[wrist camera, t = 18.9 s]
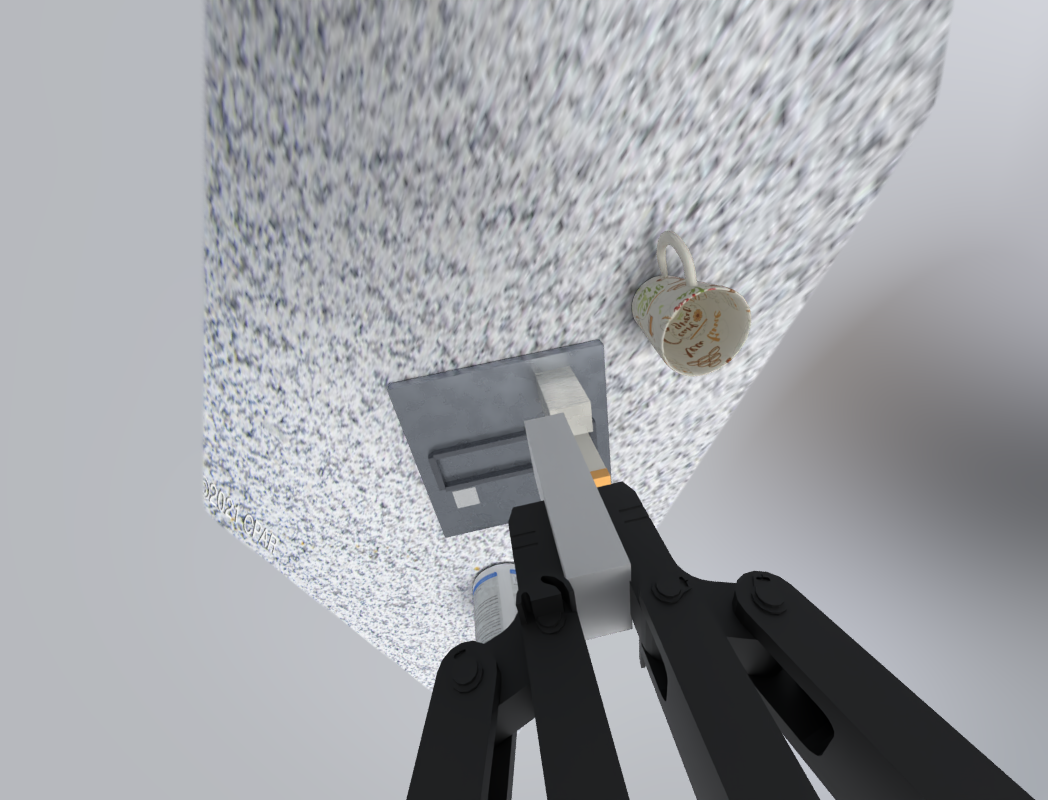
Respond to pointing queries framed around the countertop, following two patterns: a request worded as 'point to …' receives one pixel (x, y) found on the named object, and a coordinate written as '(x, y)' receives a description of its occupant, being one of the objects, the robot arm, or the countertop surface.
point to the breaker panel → (496, 428)
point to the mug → (690, 316)
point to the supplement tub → (494, 601)
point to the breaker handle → (593, 460)
